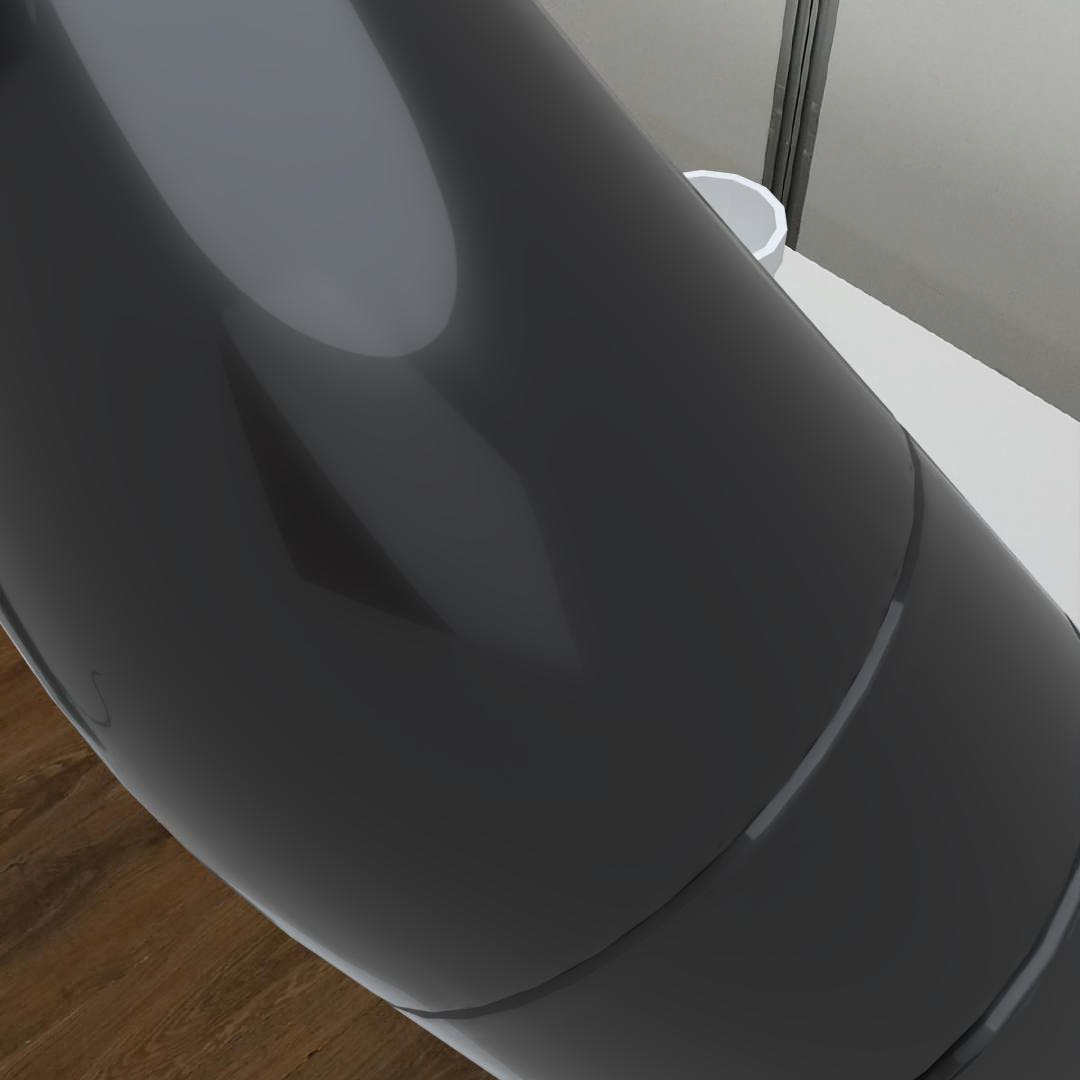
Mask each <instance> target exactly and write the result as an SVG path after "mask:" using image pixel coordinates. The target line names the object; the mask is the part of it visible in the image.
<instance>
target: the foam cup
mask: <svg viewBox="0 0 1080 1080" xmlns="http://www.w3.org/2000/svg"><path fill="white" fill-rule="evenodd" d="M682 173H683V174H684V175H685V176H686V178H687V179H688V180H689V181H690V182H691V183H692V185H693V186H694V187H695V188H696V189H697V190H698V192H699V193H700V194H701V195H702V196H703V197H704V199H705V200H706V201H707V202H708V203H709V204H710V205H711V207H712V208H713V209H714V210H715V211H716V212H717V214H718V215H719V216H720V217H721V218H722V219H723V221H724V222H725V223H726V224H727V225H728V226H729V228H730V229H731V230H732V231H733V232H734V233H735V235H736V236H737V237H738V238H739V239H740V240H741V241H742V243H743V244H744V245H745V246H746V247H747V248H748V250H749V251H750V252H751V253H752V254H753V255H754V257H755V258H756V259H757V260H758V261H759V262H760V263H761V265H762V266H763V267H764V268H765V269H766V270H767V271H768V273H769V274H770V275H771V276H772V277H773V278H774V279H775V275H776V274H777V271H778V270H779V268H780V267H781V265H782V263H783V259H784V253H785V247H786V241H787V235H788V224H787V216H786V210H785V206H784V205H783V204H782V202H781V201H779V200H778V198H777V197H776V196H775V195H774V194H773V193H772V192H771V191H770V190H769V189H768V188H767V187H766V186H764V185H762V184H760V183H757V182H755V181H753V180H750V179H748V178H746V177H744V176H742V175H740V174H737V173H730V172H729V173H728V172H722V171H721V172H720V171H712V170H706V169H705V170H704V169H700V170H692V171H686V172H685V171H684V172H682Z"/></svg>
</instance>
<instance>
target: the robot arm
mask: <svg viewBox="0 0 1080 1080" xmlns="http://www.w3.org/2000/svg"><path fill="white" fill-rule="evenodd" d="M683 173H684V172H682V170H681V169H680V168H679V167H678V166H677V164H675V161H673V160H672V159H671V157H670V156H669V155H668V154H667V153H666V151H664V149H663V148H662V147H661V146H660V144H659V143H658V142H657V141H656V140H655V139H654V138H653V136H652V135H651V134H650V133H649V132H648V129H646V128H645V127H644V125H643V124H642V123H641V122H640V121H639V119H638V118H637V117H636V116H635V115H634V113H633V112H632V111H631V110H630V108H628V106H627V105H626V104H625V103H624V102H623V101H622V99H621V98H620V97H619V96H618V94H616V92H615V91H614V90H613V89H612V87H611V86H610V85H609V84H608V83H607V81H606V80H605V79H604V78H603V77H602V76H601V74H600V73H599V71H597V69H596V68H595V67H594V66H593V64H592V63H591V62H590V61H589V60H588V58H587V57H586V56H585V55H584V53H583V52H582V51H581V49H579V48H578V46H577V45H576V44H575V43H574V41H573V40H572V39H571V38H570V36H569V35H568V34H567V33H566V32H565V31H564V29H563V28H562V27H561V26H560V25H559V23H558V22H557V21H556V20H555V18H554V17H553V16H552V15H551V14H550V12H549V11H548V10H547V9H546V8H545V7H544V5H543V4H542V3H541V1H540V0H0V626H1V627H2V629H3V630H4V631H5V633H6V635H7V636H8V637H9V639H10V641H11V642H12V643H13V645H14V646H15V647H16V649H17V651H18V652H19V653H20V655H21V656H22V658H23V659H24V661H25V662H26V664H27V665H28V667H29V669H30V670H31V671H32V674H34V676H35V677H36V678H37V680H38V682H39V683H40V685H41V686H42V688H43V689H44V691H45V692H46V693H47V695H48V697H49V698H50V699H51V701H52V702H54V704H55V705H56V706H57V708H58V709H59V710H60V711H61V713H62V714H64V716H65V717H66V719H67V720H68V721H69V722H70V724H71V725H72V726H73V728H74V729H76V731H77V732H78V734H79V735H80V736H81V737H82V738H83V740H84V741H85V742H86V744H88V746H89V747H90V748H91V749H92V750H93V752H94V753H95V754H96V756H97V757H98V758H99V759H100V760H101V762H102V763H103V764H104V765H105V766H106V768H107V769H108V771H110V773H111V774H112V775H113V776H114V777H115V779H116V780H117V781H118V782H119V783H120V784H121V785H122V786H123V787H124V788H125V789H126V790H127V791H128V792H129V793H130V794H131V795H132V796H133V797H134V798H135V799H136V800H137V801H138V802H139V803H140V804H141V805H142V806H143V808H145V809H146V810H147V811H148V812H149V813H150V814H151V815H152V816H153V817H154V818H155V820H157V822H159V823H160V824H161V826H163V827H164V828H165V830H167V831H168V833H170V834H171V835H172V836H173V838H175V839H176V841H178V842H179V844H181V845H182V847H184V848H185V849H186V850H187V852H189V853H190V854H191V855H192V856H193V857H194V858H195V859H196V861H197V862H199V863H200V864H201V866H203V867H204V868H205V869H206V870H207V871H209V872H210V873H211V874H212V875H214V876H215V877H216V878H217V879H219V881H221V882H222V883H223V884H225V885H226V886H227V887H228V888H229V889H230V890H232V891H233V892H234V893H236V894H237V895H238V896H239V897H241V898H242V899H243V900H244V901H245V902H247V903H248V904H250V906H252V907H253V908H254V909H256V910H257V911H258V912H259V913H260V914H262V915H263V916H265V918H267V919H268V920H269V921H271V922H272V923H273V924H274V925H276V926H277V927H278V928H279V929H280V930H282V931H283V932H284V933H285V934H287V935H288V936H289V937H291V939H293V940H295V941H296V942H297V943H299V944H300V945H302V946H303V947H305V948H306V949H307V950H308V951H310V952H311V953H313V954H315V955H316V956H318V957H319V958H321V959H322V960H324V961H325V962H327V963H328V964H329V965H331V966H332V967H333V968H335V969H336V970H338V971H339V972H341V973H342V974H344V975H345V976H346V977H348V978H350V979H351V980H352V981H353V982H355V983H357V984H358V985H360V986H361V987H363V988H364V989H366V990H367V991H368V992H370V993H371V994H372V995H375V996H377V997H379V998H381V999H383V1000H384V1001H385V1002H386V1003H388V1004H389V1005H390V1006H391V1007H392V1008H393V1009H395V1010H397V1011H398V1012H399V1013H401V1014H402V1015H404V1017H407V1018H408V1019H410V1020H411V1021H413V1022H414V1023H416V1024H417V1025H418V1026H420V1027H422V1028H423V1029H425V1030H426V1031H428V1032H429V1033H430V1034H431V1035H433V1036H435V1037H436V1038H437V1039H439V1040H441V1041H442V1042H443V1043H445V1044H447V1045H448V1046H449V1047H451V1048H452V1049H453V1050H455V1051H456V1052H458V1053H460V1054H461V1055H462V1056H464V1057H465V1058H467V1059H468V1060H470V1061H471V1062H473V1064H476V1065H477V1066H479V1067H480V1068H482V1069H483V1070H485V1071H486V1072H488V1073H489V1074H490V1075H492V1076H493V1077H495V1078H496V1079H497V1080H1080V628H1079V626H1078V625H1077V624H1076V623H1075V622H1074V621H1073V619H1071V617H1070V616H1069V615H1068V614H1067V613H1066V612H1065V611H1064V610H1063V608H1061V606H1060V605H1059V604H1058V603H1057V602H1056V600H1054V598H1053V597H1052V596H1051V595H1050V594H1049V593H1048V591H1047V590H1046V589H1045V588H1044V587H1043V586H1042V584H1041V583H1040V582H1039V581H1038V580H1037V579H1036V578H1035V576H1034V575H1033V574H1032V573H1031V572H1030V570H1028V568H1027V567H1026V566H1025V564H1024V563H1022V561H1021V560H1020V559H1019V558H1018V557H1017V555H1016V554H1015V553H1014V552H1013V551H1012V550H1011V549H1010V547H1008V545H1007V544H1006V543H1005V542H1004V540H1003V539H1002V538H1001V537H1000V536H999V535H998V534H997V533H996V531H995V530H994V529H993V527H991V526H990V524H989V523H988V522H987V521H986V520H985V518H984V517H983V516H982V515H981V514H980V513H979V512H978V510H977V509H976V508H975V507H974V506H973V504H971V502H969V500H968V499H967V498H966V497H965V496H964V495H963V493H962V492H961V491H960V490H959V489H958V488H957V486H956V485H955V484H954V483H953V482H952V481H951V479H950V478H949V477H948V476H947V475H946V474H945V472H944V471H943V470H942V469H941V468H940V466H938V464H937V463H936V462H935V461H934V459H932V458H931V456H930V455H929V454H928V453H927V452H926V451H925V450H924V448H923V447H922V446H921V445H920V443H919V442H918V441H917V440H916V439H915V438H914V437H913V436H912V435H911V433H910V432H909V431H908V430H907V429H906V428H905V427H904V426H903V424H901V423H900V422H899V421H898V420H897V418H896V417H895V415H894V413H893V412H892V411H891V410H890V409H889V407H888V406H886V405H885V403H884V402H883V401H882V400H881V398H880V397H879V396H878V395H877V394H876V393H875V392H874V391H873V389H871V387H870V386H869V385H868V384H867V383H866V382H865V380H864V379H863V378H862V377H861V376H860V375H859V374H858V372H856V370H855V369H854V368H853V367H852V366H851V365H850V363H849V362H848V361H847V360H846V359H845V357H843V355H842V354H841V353H840V352H839V351H838V350H837V349H836V348H835V346H834V345H833V344H832V343H831V342H830V340H828V338H827V337H826V336H825V335H824V334H823V333H822V331H821V330H820V329H819V328H818V327H817V326H816V325H815V323H814V322H812V320H811V319H810V318H809V317H808V316H807V315H806V313H805V312H804V311H803V310H802V309H801V308H800V306H799V305H798V304H797V303H796V302H795V301H794V299H793V298H792V297H791V296H790V295H789V294H788V292H786V291H785V289H784V288H783V287H782V286H781V285H780V284H779V283H778V282H777V280H776V279H775V277H774V278H773V277H772V276H771V275H770V274H769V273H768V271H767V270H766V269H765V268H764V267H763V266H762V265H761V263H760V262H759V261H758V260H757V259H756V258H755V257H754V255H753V254H752V253H751V252H750V251H749V250H748V248H747V247H746V246H745V245H744V244H743V243H742V241H741V240H740V239H739V238H738V237H737V236H736V235H735V233H734V232H733V231H732V230H731V229H730V228H729V226H728V225H727V224H726V223H725V222H724V221H723V219H722V218H721V217H720V216H719V215H718V214H717V212H716V211H715V210H714V209H713V208H712V207H711V205H710V204H709V203H708V202H707V201H706V200H705V199H704V197H703V196H702V195H701V194H700V193H699V192H698V190H697V189H696V188H695V187H694V186H693V185H692V183H691V182H690V181H689V180H688V179H687V178H686V176H685V175H684V174H683Z"/></svg>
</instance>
